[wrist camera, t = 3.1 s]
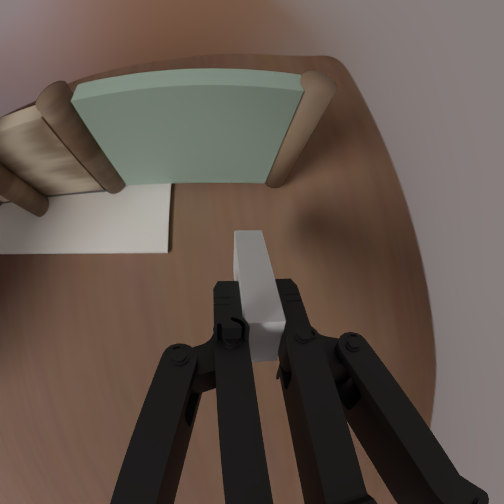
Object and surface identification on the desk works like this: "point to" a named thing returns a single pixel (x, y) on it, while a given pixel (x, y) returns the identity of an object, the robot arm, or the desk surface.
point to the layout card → (91, 223)
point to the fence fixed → (51, 153)
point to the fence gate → (204, 123)
